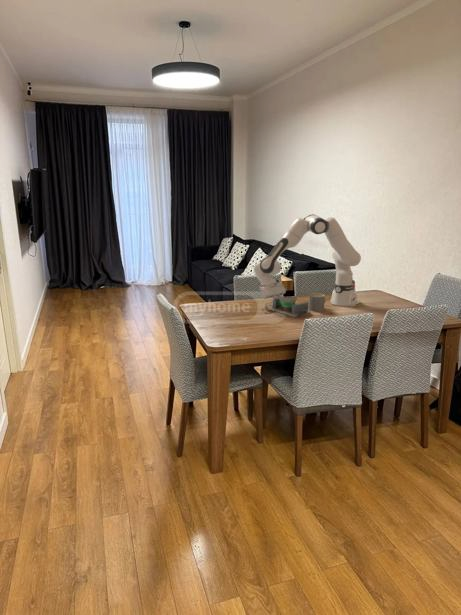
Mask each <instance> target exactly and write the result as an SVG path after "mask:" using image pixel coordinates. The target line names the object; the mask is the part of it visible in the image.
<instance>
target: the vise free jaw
mask: <svg viewBox="0 0 461 615" xmlns="http://www.w3.org/2000/svg"><path fill="white" fill-rule="evenodd" d="M285 297H288V296H287V295H286V296H285ZM271 307H272V308H279V309H280V302H279V299H273V298H272V305H271Z"/></svg>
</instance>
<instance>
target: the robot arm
mask: <svg viewBox="0 0 461 615" xmlns="http://www.w3.org/2000/svg"><path fill="white" fill-rule="evenodd" d="M308 232H310V233H313V234H315V235H322V234H325V237H326V239H327V241H328V242H329V244H330V246H331V248H332V249H333V251H332V259H333V262H334V265H335V283H334V287H333V288H334V289H333V290H332V293H331V294H332V295H331V298H330V300H329V302H330V303H331V304H332V305H333V306H334V305H335V306H339V307H355V306H357V305H358V304H360V303H361V301H360V300H358V294H357V292H355V291H354V290H353V289H354V288H355V287H356V285H355V284H353V272H352V268H351V267H356V266H358V265H359V264H360V263H361V261H362V256H361V254H360V253H359V252H358V251H357V250H356V249H355V248H354V246H353V245H352V244H351V242H350V241H349V240H348V238H347V237H346V235H345V233H344V230H343V228H342V226H341V225H340V224H339V222H338V221H337V220H336V218H334V217H331V216H330V217H327V218H325V219H324V218H322V217H321V216H319V215H316V214H313V213H312V214H309V215H307V216H305V217H304V218H302V217H301V218H300V217H299V218H296V219H295V220H294V221H293V222H292V223H291V224H290V226H289V227H288V228H287V230H286V231H285V232H284V234H283V236H282V237H281V238H280V239H279V240H278V242H276V244H275V245H274V247H273V248H272V249H271V251H269V253H268V254H267V255H266V256H265V257H264V258H262V259H261V260H260V261H259V262H257V263H256V264H255V265H254V267H253V272H254V274H255V276H256V278H257V279H258V281H259V283H260V286H259V291H260V294H261V296H262V298H263V299H265V300H266V299H270V298H272V300H273V299H278V298H279V296H284V294H286V292H287V291H286V288H285V286H284V285H283V284H282V283H281V280H280V279H276V278H274V277H273V276H276V275H277V274H279V273H280V272H281V270H282V264H281V262H280V261H278V259H279V257H280V256H281V255H282V254H283V253H284V251H286V250H288V249H292V248H295V247H297V245H298V244H299V243H300V242H301V241H302V239H303V237H304V236H305V235H306V234H307V233H308ZM356 304H357V305H356Z"/></svg>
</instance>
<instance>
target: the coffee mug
mask: <svg viewBox="0 0 461 615" xmlns="http://www.w3.org/2000/svg"><path fill="white" fill-rule="evenodd" d="M308 302H309V305H308V310H310V312H318V313H319V312H324V311H325V303H326V295H325V294H323V293H317V292H316V293H315V292H313V293H310V294H309V301H308Z"/></svg>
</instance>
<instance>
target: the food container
mask: <svg viewBox="0 0 461 615" xmlns="http://www.w3.org/2000/svg"><path fill="white" fill-rule="evenodd" d="M278 299H279V302H280V307H279V309H282V310H286V311H289V312H292V305H293V304H296V302H297V300H298V297H297V296H287V297H286V296H282V295H280V296H279V298H278Z"/></svg>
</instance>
